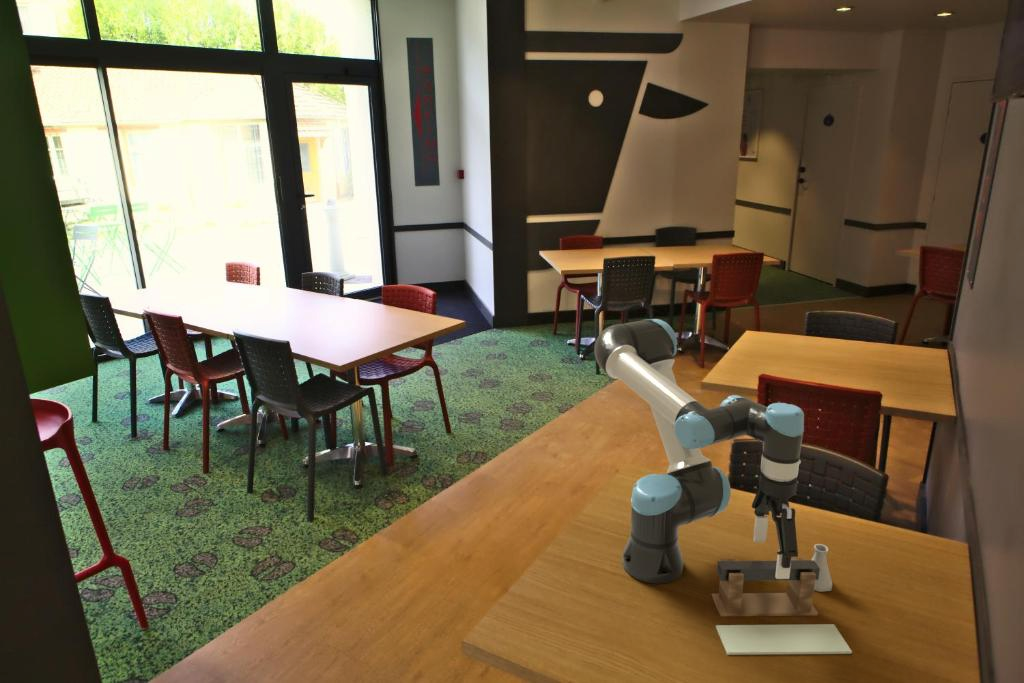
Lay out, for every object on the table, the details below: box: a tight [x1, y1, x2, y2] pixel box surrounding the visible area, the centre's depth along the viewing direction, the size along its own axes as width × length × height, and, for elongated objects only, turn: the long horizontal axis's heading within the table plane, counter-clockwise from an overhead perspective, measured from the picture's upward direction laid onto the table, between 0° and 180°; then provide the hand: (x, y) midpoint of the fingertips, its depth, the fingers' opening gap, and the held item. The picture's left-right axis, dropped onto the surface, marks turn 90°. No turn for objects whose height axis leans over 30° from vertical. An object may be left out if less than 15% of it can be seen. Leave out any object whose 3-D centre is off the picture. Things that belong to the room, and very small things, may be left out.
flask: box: [811, 543, 833, 593], centre depth 156 cm, size 7×7×10 cm
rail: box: [716, 559, 820, 582], centre depth 147 cm, size 22×3×3 cm, turn 90°
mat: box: [715, 623, 853, 656], centre depth 139 cm, size 26×8×1 cm, turn 90°
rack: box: [711, 557, 819, 617], centre depth 149 cm, size 22×7×10 cm, turn 90°
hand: (770, 558), depth 146 cm, fingers open, 13 cm apart
